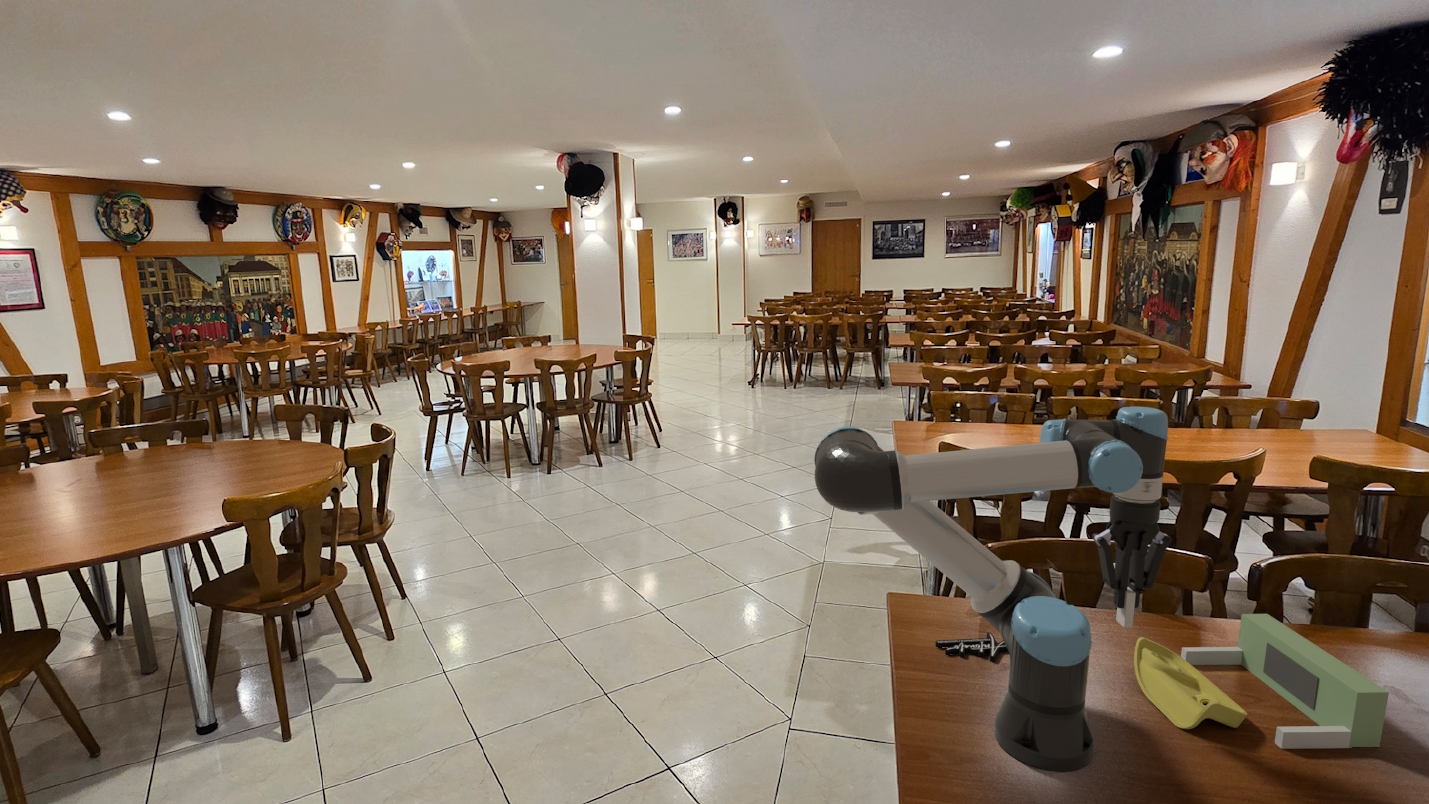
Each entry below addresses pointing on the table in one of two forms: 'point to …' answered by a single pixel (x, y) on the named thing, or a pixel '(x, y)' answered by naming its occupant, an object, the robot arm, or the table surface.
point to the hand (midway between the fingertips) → (1124, 623)
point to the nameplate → (974, 647)
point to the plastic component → (1181, 688)
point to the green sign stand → (1304, 684)
